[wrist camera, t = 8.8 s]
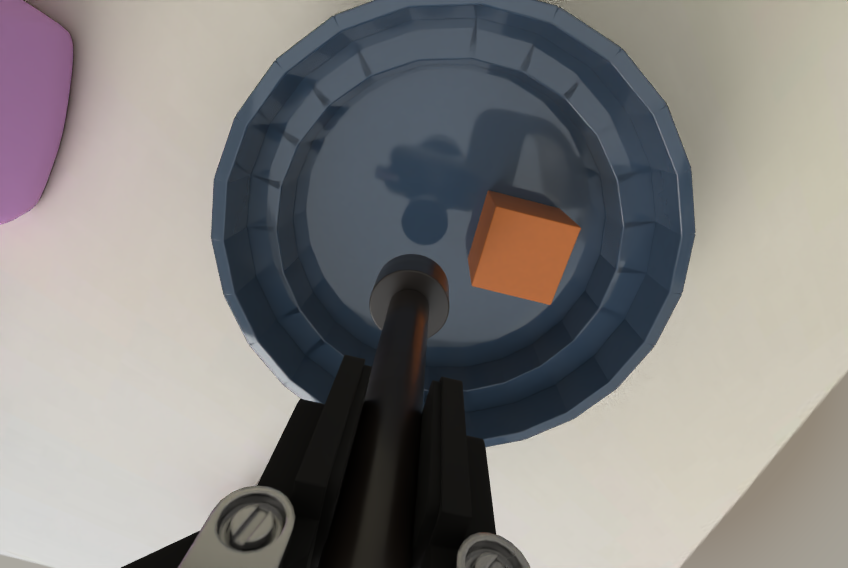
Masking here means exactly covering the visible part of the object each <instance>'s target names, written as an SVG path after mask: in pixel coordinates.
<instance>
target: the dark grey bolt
mask: <svg viewBox="0 0 848 568" xmlns="http://www.w3.org/2000/svg"><path fill="white" fill-rule="evenodd" d="M369 307H370V313H371V316H372V318H373V321H374V322H375V324H376V325H377V326H378V328H379V329H380V330H381V331H382V332H381V336H380V340H379V343H378V347H377V351H376V355H375V358H374V362H373V366H372V370H371V374H370V379H369V383H368V387H367V392H366V396H365V401H364V405H363V408H362V412H361V416H360V420H359V423H358V427H357V431H356V435H355V438H354V442H353V446H352V450H351V453H350V457H349V461H348V465H347V468H346V472H345V476H344V480H343V484H342V487H341V491H340V495H339V499H338V502H337V506H336V510H335V514H334V517H333V521H332V525H331V529H330V532H329V536H328V540H327V541H326V543H325V545H324V547H323V550H322V554H321V557H320V561H319V565H318V568H412V546H413V531H414V517H415V503H416V488H417V474H418V459H419V445H420V431H421V416H422V409H423V394H424V379H425V364H426V349H427V338H430V337H431V336H433V335H434V334H436V333H437V332H438V331H439V330H440V329H441V328H442V327H443V325H444V324H445V322H446V320H447V318H448V314H449V284H448V279H447V277H446V274H445V273H444V271H443V269H442V268H441V267H440V266H439V265H438V264H437V263H436V262H435V261H433V260H432V259H430V258H428V257H425V256H422V255H418V254H405V255H401V256H398V257H395V258H393V259H392V260H390V261H389V262H387V263H386V264H385V265H384V266H383V268H382V269H381V271H380V272H379V275H378V277H377V280H376V282H375V285H374V287H373V290H372V293H371V296H370V301H369Z"/></svg>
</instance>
